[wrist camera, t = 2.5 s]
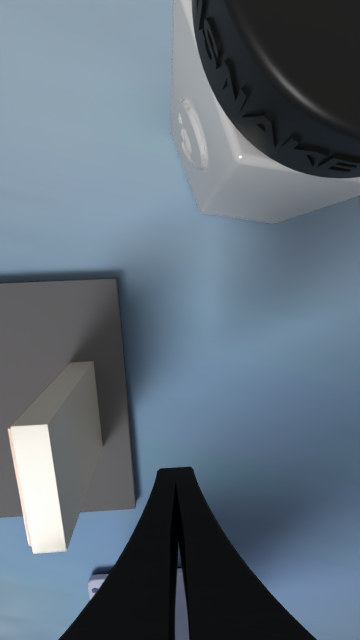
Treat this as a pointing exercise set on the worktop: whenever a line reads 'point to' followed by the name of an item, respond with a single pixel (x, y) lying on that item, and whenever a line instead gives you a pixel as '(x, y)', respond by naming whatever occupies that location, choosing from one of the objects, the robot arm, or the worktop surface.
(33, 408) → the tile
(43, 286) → the mat
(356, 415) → the worktop surface
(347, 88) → the jar
